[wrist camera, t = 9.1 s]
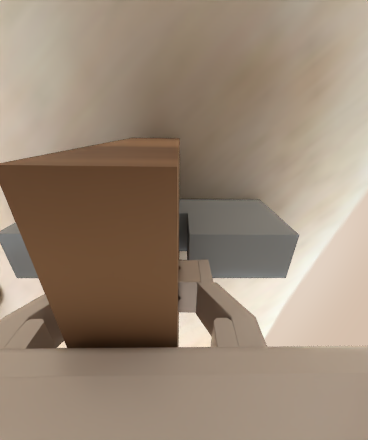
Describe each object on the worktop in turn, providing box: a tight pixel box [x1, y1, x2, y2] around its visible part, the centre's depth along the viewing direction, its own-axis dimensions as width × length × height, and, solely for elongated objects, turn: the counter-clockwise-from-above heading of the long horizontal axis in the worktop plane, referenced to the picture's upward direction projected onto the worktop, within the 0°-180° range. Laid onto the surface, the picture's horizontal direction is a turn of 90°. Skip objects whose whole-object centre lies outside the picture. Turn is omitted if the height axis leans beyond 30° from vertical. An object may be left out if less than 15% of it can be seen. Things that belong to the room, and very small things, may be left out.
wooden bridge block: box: [0, 138, 180, 348], centre depth 10 cm, size 12×3×10 cm, turn 179°
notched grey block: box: [0, 199, 299, 278], centre depth 13 cm, size 3×16×6 cm, turn 89°
